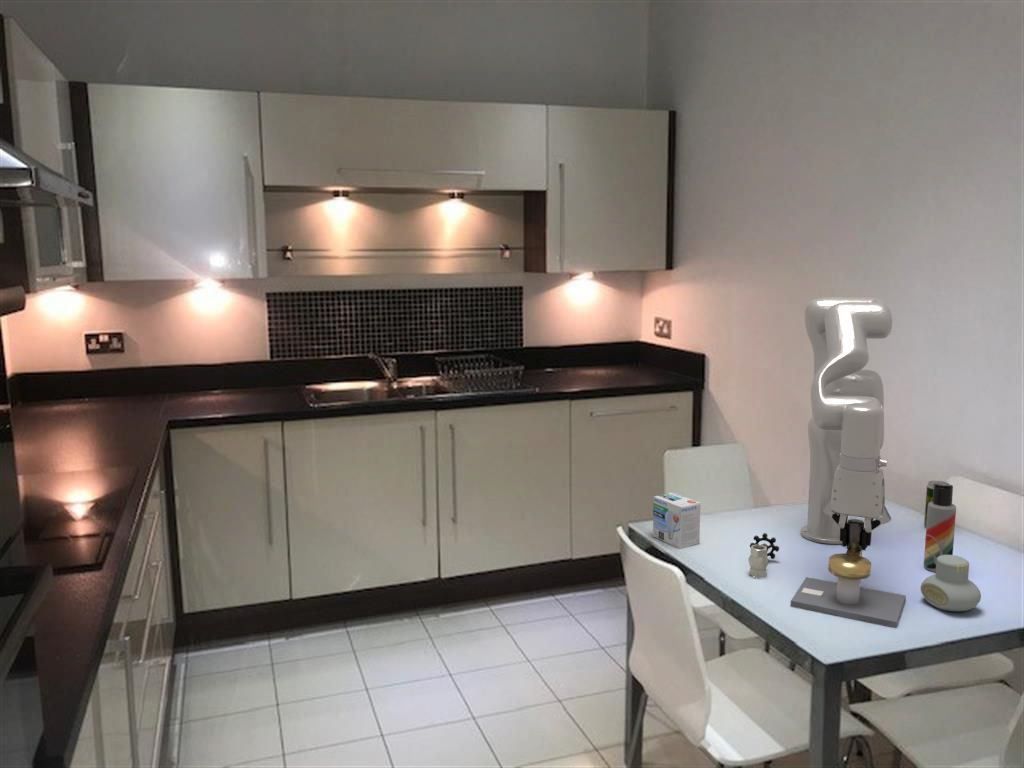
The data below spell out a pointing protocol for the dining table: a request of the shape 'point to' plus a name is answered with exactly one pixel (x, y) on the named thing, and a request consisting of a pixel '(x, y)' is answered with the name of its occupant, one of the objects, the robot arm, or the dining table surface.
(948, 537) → the lotion bottle
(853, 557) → the brass knob with handle
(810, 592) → the post base
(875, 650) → the dining table surface
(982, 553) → the dining table surface
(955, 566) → the air freshener
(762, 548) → the valve
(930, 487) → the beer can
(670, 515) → the light bulb box
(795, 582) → the dining table surface
